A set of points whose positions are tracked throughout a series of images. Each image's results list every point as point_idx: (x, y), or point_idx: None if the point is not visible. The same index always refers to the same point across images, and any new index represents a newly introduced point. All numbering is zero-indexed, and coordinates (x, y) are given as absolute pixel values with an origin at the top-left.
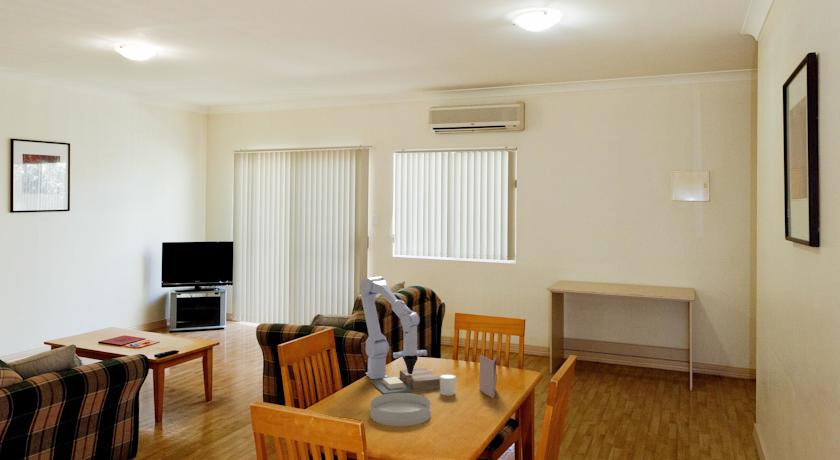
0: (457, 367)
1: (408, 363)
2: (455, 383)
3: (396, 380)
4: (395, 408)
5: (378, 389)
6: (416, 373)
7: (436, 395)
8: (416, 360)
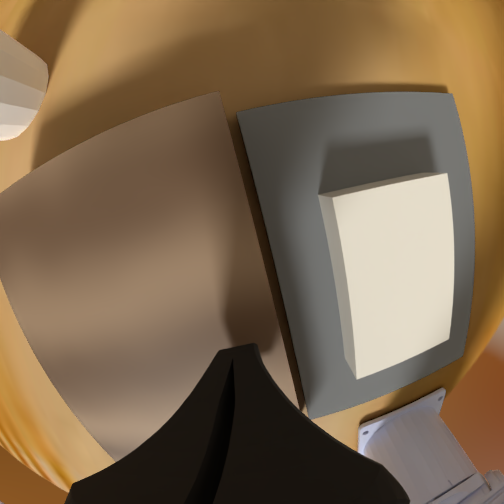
0: (51, 462)
1: (300, 435)
2: None
3: (383, 279)
4: None
5: (467, 207)
6: (173, 395)
7: (81, 40)
8: (97, 479)
